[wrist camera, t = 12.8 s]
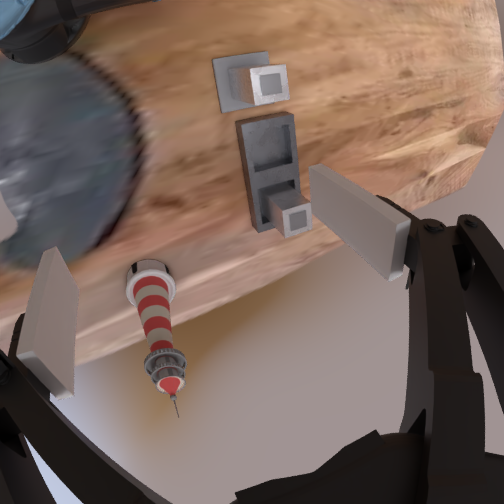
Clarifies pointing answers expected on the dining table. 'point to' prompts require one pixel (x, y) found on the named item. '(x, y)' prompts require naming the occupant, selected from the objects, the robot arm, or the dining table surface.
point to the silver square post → (286, 209)
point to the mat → (223, 80)
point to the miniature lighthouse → (157, 323)
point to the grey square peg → (259, 83)
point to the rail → (267, 158)
